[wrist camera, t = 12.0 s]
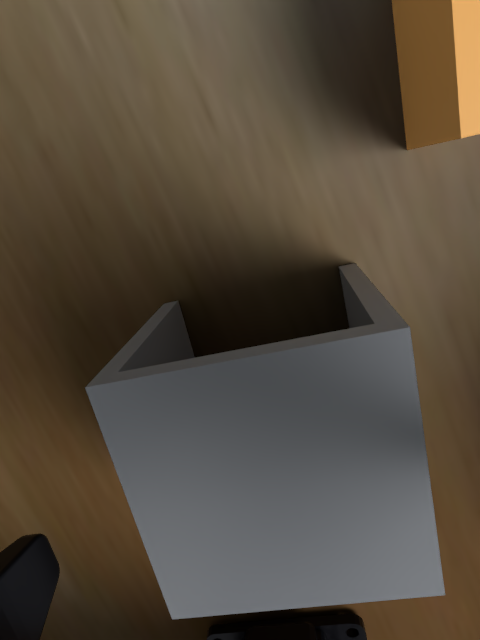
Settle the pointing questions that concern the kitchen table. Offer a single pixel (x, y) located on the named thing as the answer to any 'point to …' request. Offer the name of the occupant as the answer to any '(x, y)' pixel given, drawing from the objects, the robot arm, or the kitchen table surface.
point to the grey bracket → (275, 463)
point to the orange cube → (438, 69)
